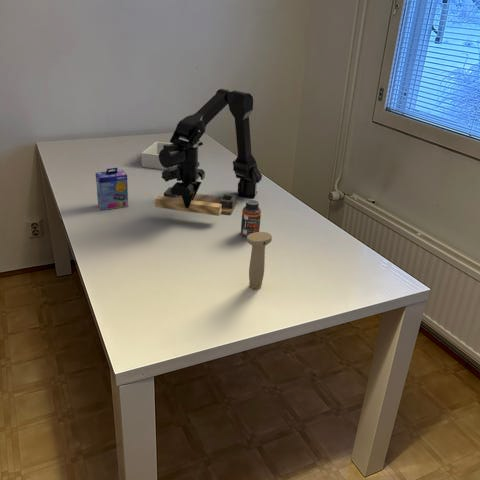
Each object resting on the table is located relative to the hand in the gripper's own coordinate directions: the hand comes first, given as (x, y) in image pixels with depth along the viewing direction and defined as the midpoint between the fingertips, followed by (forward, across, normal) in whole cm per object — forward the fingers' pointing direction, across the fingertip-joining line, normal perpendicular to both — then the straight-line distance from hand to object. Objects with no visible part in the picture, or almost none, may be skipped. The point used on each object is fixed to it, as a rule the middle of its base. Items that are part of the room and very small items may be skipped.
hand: (188, 205), depth 164 cm
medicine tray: (+5, -53, -25) cm, 59 cm away
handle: (+5, +35, +29) cm, 46 cm away
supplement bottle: (+5, +5, +22) cm, 23 cm away
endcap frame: (+5, -14, 0) cm, 15 cm away
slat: (+2, 0, 0) cm, 2 cm away
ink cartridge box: (+5, -2, -28) cm, 29 cm away
